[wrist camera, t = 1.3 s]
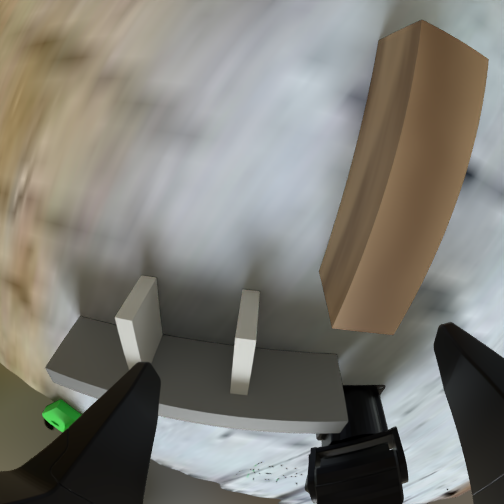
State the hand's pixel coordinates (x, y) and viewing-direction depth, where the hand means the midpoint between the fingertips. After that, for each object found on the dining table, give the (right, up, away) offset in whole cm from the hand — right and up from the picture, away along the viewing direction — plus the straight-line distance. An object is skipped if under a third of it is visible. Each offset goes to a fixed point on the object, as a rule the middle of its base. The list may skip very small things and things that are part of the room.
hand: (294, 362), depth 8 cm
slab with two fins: (-6, -3, +15) cm, 16 cm away
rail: (+7, +8, +9) cm, 14 cm away
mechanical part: (-34, -25, +30) cm, 51 cm away
